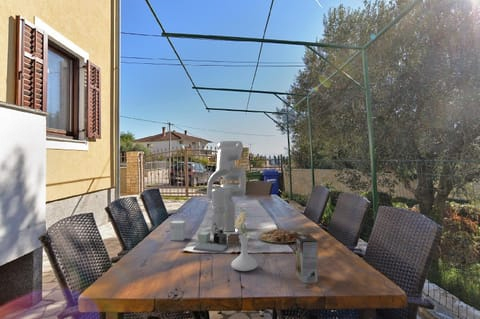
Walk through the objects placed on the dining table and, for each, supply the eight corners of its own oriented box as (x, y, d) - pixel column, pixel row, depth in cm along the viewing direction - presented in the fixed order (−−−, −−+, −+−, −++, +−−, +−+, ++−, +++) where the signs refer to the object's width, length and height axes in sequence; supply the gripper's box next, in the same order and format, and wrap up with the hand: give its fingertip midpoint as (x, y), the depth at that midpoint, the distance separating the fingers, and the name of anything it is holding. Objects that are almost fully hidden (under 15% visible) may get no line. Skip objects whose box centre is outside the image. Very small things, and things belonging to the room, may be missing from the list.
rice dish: (250, 243, 163) (250, 234, 163) (268, 230, 187) (268, 222, 187) (297, 250, 150) (297, 239, 150) (310, 235, 174) (310, 226, 174)
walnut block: (231, 242, 161) (231, 233, 161) (239, 242, 159) (239, 234, 159) (227, 245, 155) (227, 236, 155) (236, 245, 154) (236, 236, 154)
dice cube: (214, 243, 159) (214, 234, 159) (220, 241, 162) (220, 232, 163) (220, 244, 155) (220, 235, 155) (226, 242, 159) (226, 234, 159)
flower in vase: (232, 263, 127) (231, 208, 127) (257, 263, 126) (256, 208, 126) (230, 275, 114) (229, 213, 114) (258, 275, 113) (257, 213, 113)
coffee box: (295, 273, 115) (294, 234, 115) (310, 273, 115) (310, 233, 115) (301, 283, 106) (301, 240, 106) (318, 282, 106) (318, 239, 106)
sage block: (202, 239, 166) (202, 231, 166) (210, 240, 165) (210, 232, 165) (198, 242, 160) (198, 234, 160) (206, 243, 159) (206, 234, 159)
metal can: (236, 237, 171) (236, 227, 171) (244, 237, 169) (244, 227, 169) (234, 239, 166) (234, 229, 166) (242, 240, 165) (242, 229, 165)
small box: (186, 238, 170) (185, 220, 170) (183, 240, 164) (183, 222, 164) (173, 237, 171) (173, 220, 171) (170, 240, 165) (169, 222, 165)
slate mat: (200, 244, 155) (200, 243, 155) (227, 247, 151) (227, 245, 151) (193, 249, 147) (193, 247, 147) (222, 252, 142) (222, 250, 142)
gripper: (217, 207, 169) (218, 237, 169) (206, 212, 153) (206, 245, 153) (229, 207, 167) (229, 238, 167) (219, 213, 150) (219, 246, 150)
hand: (218, 241), depth 160 cm, fingers closed on dice cube, 6 cm apart
